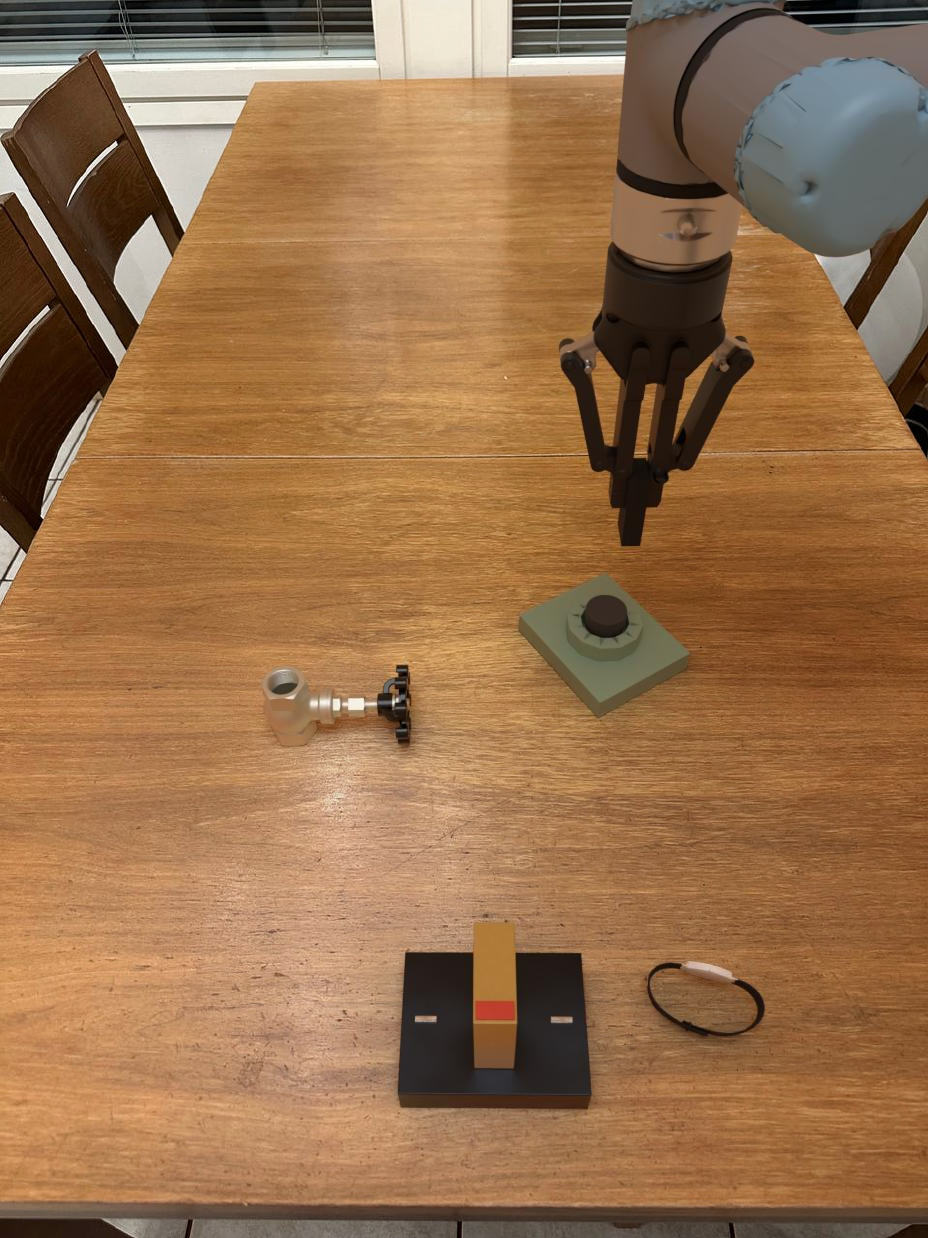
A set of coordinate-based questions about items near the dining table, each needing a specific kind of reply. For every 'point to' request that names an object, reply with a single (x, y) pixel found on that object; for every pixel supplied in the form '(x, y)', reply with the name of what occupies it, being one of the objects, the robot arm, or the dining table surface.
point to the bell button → (605, 616)
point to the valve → (328, 705)
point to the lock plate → (445, 1043)
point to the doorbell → (602, 647)
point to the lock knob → (494, 995)
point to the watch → (711, 974)
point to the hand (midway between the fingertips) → (628, 534)
